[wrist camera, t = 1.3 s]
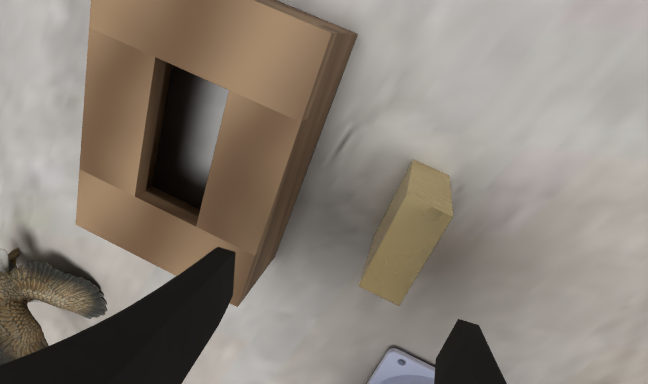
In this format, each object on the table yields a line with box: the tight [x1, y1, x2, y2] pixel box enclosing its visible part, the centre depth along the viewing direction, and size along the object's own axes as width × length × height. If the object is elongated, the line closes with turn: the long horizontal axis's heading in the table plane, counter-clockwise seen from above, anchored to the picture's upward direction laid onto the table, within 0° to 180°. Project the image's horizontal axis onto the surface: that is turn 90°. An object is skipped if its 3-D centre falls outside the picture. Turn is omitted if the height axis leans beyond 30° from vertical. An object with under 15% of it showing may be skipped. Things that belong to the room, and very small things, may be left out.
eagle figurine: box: [0, 248, 107, 365], centre depth 28 cm, size 8×7×9 cm
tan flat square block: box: [359, 160, 453, 305], centre depth 18 cm, size 2×5×5 cm, turn 159°
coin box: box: [76, 0, 358, 307], centre depth 19 cm, size 10×14×5 cm
